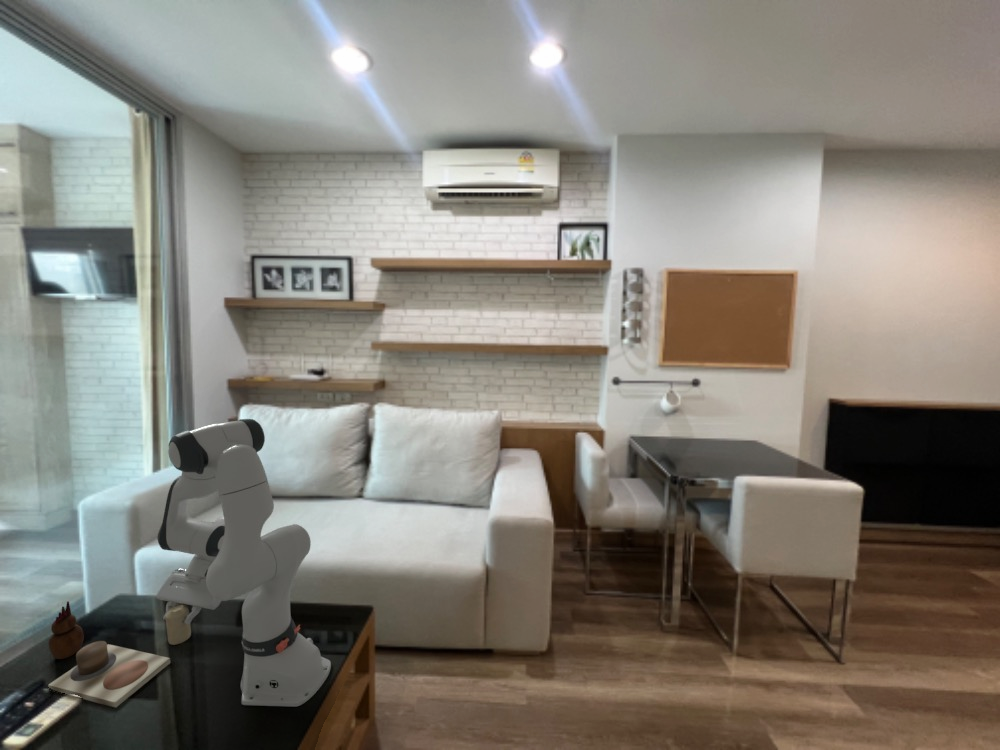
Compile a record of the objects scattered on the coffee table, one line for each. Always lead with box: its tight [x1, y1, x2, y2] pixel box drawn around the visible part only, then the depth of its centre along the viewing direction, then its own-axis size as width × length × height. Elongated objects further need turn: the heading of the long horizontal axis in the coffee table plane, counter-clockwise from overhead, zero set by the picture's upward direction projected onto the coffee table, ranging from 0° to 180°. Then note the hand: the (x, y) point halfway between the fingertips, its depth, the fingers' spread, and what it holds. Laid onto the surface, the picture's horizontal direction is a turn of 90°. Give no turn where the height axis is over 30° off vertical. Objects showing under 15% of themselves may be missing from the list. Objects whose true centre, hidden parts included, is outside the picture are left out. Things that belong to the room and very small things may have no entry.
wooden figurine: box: [48, 601, 85, 660], centre depth 121 cm, size 7×6×15 cm
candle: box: [164, 604, 192, 646], centre depth 127 cm, size 6×6×10 cm
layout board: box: [47, 640, 171, 708], centre depth 114 cm, size 22×14×7 cm, turn 78°
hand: (175, 621), depth 126 cm, fingers closed on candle, 5 cm apart
